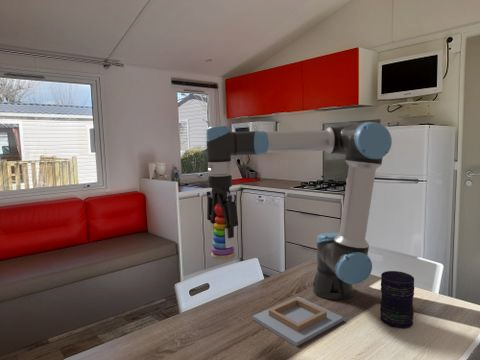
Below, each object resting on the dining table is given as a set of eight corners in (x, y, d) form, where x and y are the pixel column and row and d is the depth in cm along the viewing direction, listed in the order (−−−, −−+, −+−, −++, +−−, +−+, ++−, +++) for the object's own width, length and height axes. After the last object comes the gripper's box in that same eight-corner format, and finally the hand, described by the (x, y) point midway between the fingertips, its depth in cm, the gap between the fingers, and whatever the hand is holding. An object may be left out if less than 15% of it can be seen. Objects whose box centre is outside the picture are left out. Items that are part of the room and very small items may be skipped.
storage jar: (407, 332, 106) (408, 285, 104) (375, 321, 113) (376, 277, 111) (417, 319, 114) (418, 275, 112) (386, 310, 120) (387, 268, 118)
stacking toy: (232, 262, 110) (230, 204, 108) (208, 261, 112) (205, 204, 109) (237, 254, 118) (235, 199, 116) (215, 253, 119) (212, 199, 117)
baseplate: (298, 299, 130) (298, 291, 130) (343, 320, 114) (343, 311, 114) (252, 319, 117) (252, 310, 116) (296, 346, 101) (296, 336, 101)
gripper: (194, 174, 117) (197, 240, 120) (228, 178, 101) (231, 254, 104) (213, 172, 122) (215, 236, 124) (248, 175, 106) (250, 248, 109)
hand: (223, 244), depth 114 cm, fingers closed on stacking toy, 7 cm apart
